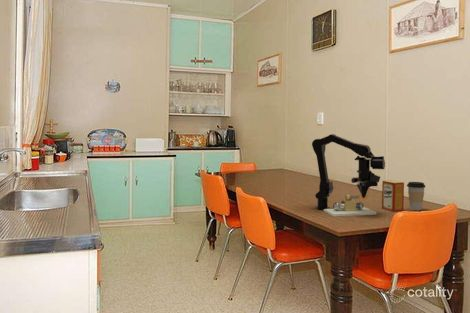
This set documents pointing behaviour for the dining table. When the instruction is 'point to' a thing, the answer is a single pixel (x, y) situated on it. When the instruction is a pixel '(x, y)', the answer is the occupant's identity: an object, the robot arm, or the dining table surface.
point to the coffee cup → (415, 195)
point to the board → (350, 212)
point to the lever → (354, 196)
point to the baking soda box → (392, 195)
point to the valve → (348, 205)
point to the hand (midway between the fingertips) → (363, 197)
